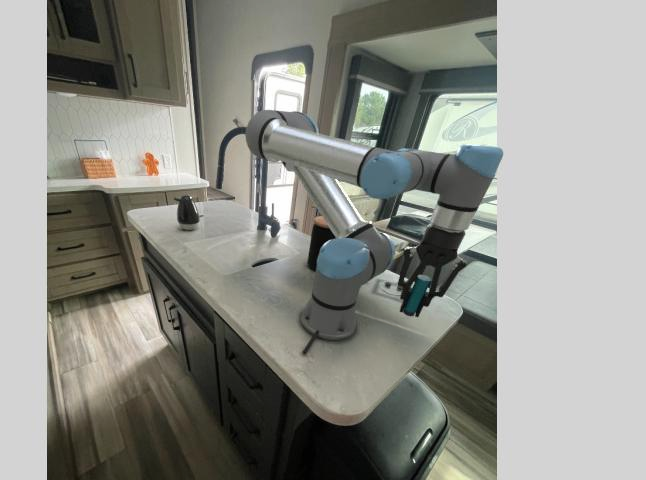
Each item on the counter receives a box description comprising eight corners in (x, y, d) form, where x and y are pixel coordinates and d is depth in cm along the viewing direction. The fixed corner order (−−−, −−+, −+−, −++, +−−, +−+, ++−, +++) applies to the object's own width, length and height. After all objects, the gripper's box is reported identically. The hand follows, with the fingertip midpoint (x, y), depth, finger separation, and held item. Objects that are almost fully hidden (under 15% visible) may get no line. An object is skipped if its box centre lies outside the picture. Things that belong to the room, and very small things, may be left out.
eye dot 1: (390, 287, 91) (391, 285, 91) (384, 285, 92) (385, 284, 92) (391, 284, 93) (391, 283, 93) (385, 283, 94) (385, 281, 93)
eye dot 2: (402, 290, 90) (403, 289, 90) (396, 289, 91) (397, 287, 90) (403, 288, 91) (404, 286, 91) (397, 286, 92) (397, 285, 92)
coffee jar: (333, 261, 108) (342, 217, 98) (335, 274, 100) (346, 227, 89) (306, 258, 109) (313, 214, 99) (307, 271, 100) (314, 224, 90)
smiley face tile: (407, 303, 87) (408, 300, 86) (373, 292, 91) (374, 290, 90) (410, 289, 95) (411, 286, 94) (378, 280, 98) (379, 277, 98)
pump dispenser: (176, 225, 130) (171, 192, 121) (197, 223, 134) (194, 191, 125) (179, 233, 123) (175, 198, 114) (202, 230, 127) (199, 197, 118)
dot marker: (414, 318, 70) (431, 282, 64) (401, 314, 71) (416, 278, 65) (415, 312, 72) (431, 277, 66) (402, 308, 74) (417, 273, 67)
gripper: (488, 230, 58) (442, 314, 72) (409, 215, 64) (380, 296, 77) (493, 241, 53) (442, 330, 66) (406, 223, 58) (375, 309, 72)
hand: (409, 311), depth 72 cm, fingers closed on dot marker, 3 cm apart
